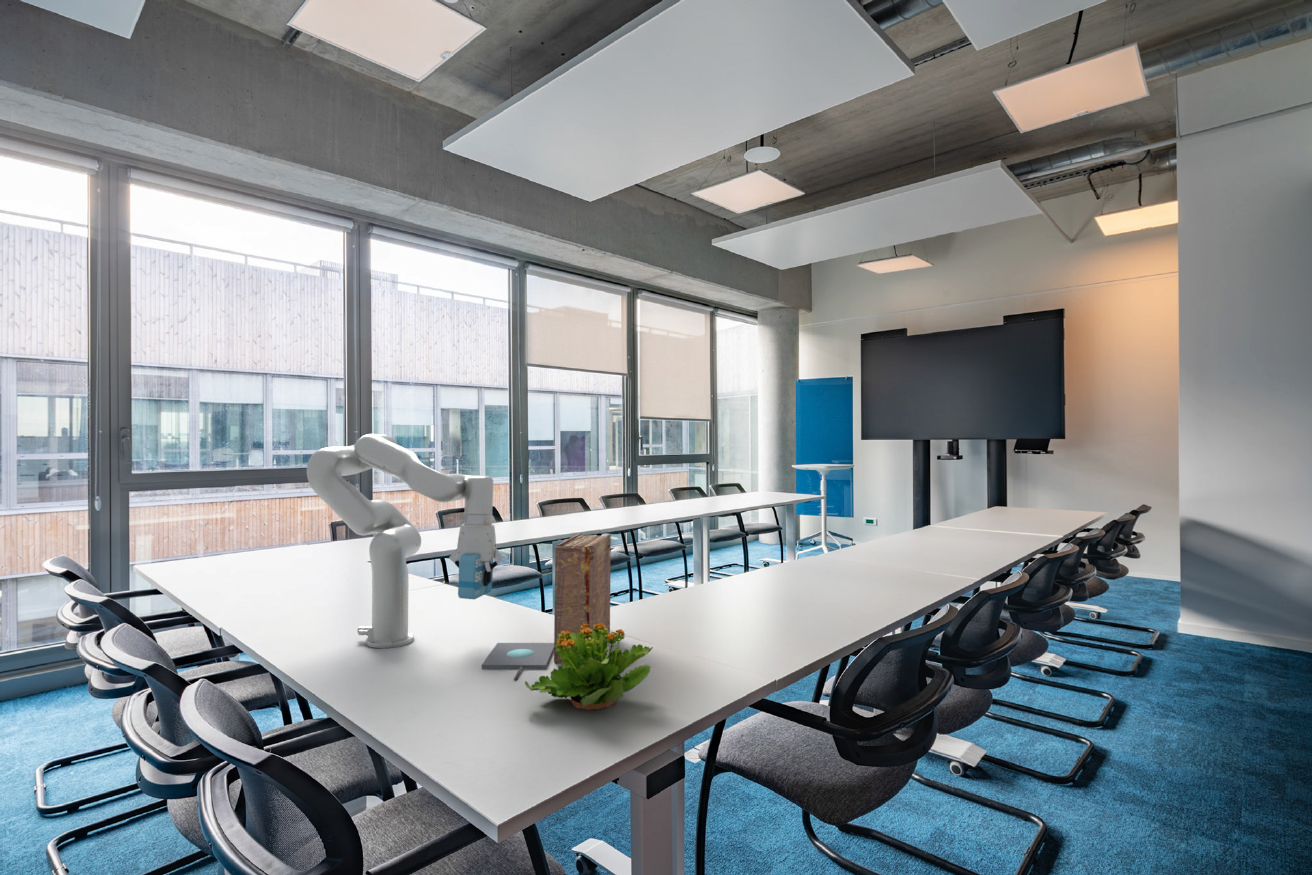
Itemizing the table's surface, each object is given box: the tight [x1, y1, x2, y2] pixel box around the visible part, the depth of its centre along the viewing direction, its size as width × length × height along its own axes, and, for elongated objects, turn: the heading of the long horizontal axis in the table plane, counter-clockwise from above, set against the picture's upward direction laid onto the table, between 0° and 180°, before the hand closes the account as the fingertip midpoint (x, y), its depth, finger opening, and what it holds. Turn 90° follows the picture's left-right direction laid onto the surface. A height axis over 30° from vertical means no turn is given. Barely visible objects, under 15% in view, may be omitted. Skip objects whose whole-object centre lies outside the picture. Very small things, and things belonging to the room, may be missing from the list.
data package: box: [457, 554, 494, 600], centre depth 184 cm, size 12×4×12 cm, turn 169°
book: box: [553, 532, 612, 664], centre depth 180 cm, size 25×9×30 cm, turn 172°
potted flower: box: [524, 623, 654, 711], centre depth 144 cm, size 25×24×18 cm
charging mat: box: [481, 642, 554, 681], centre depth 169 cm, size 16×26×1 cm, turn 1°
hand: (475, 584), depth 184 cm, fingers closed on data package, 5 cm apart
